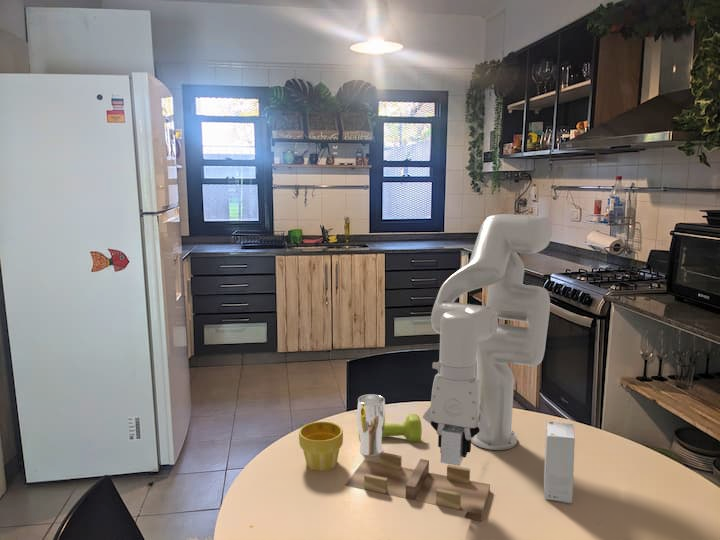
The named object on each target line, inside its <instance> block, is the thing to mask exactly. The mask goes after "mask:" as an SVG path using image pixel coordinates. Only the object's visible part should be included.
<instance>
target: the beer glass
mask: <svg viewBox="0 0 720 540" xmlns="http://www.w3.org/2000/svg"><path fill="white" fill-rule="evenodd" d="M356 419H357V427H358V428H357V429H358V435H359V434H360V439H359V442H360V445H359V453H360V454H361V455H363V456H366V457H376V456H380V453H381V452H383V450H384V449H383V445H382V444H383V437H384V436H383V431H384V426H385V424H386V399H385V397H383V396H381V395H379V394H374V393H372V394H369V393H368V394H363V395H360V396H359V397H358V398H357V412H356Z"/></svg>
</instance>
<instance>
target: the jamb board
mask: <svg viewBox="0 0 720 540" xmlns="http://www.w3.org/2000/svg"><path fill="white" fill-rule="evenodd" d="M402 461H403V460H402V455H400V454H399V455H398V454H394V453H393V454H392V453H388V452H383V451H382V452H381V453H380V455H379V462H378V461H377V462H376V461H374V460H373V461H372V460H366V459H363V461H362V462H361V463H360V464H359V466H358V467H357V469H356V470H355V471H354V472H353V474H352V475H351V476H350V478H349V479H348V480H347V481H346V482H345V484H344V486H347V487H351V488H354V489H360V490H364V491H369V492H374V493H379V494H384V495H388V496H392V497H398V498H401V499H406V500H410V501H415V502H420V503H425V504H430V505H434V506H439V507H444V508H449V509H452V510H458V511H463V512H465V514H464V519H469V520H472V521H473V520H474V521H478V522H482V520H483V516H484V512H485V509H486V506H487V503H488V500H489V498H488V497H489V495H490V492H491V491H490V490H491V484H490V483H484V482H479V481H474V480H471V476H470V475H471V468H468V467H464V466H463V467H462V466H457V465H451V464H447V465H446V475H443V474H437V473H434V472H429V471H430V470H429V469H430V461H429V460H428V459H423V458H420V459H419V460H418V463H417V464H416V466H415V468H414V469H412V468H408V467H402Z"/></svg>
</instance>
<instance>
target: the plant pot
mask: <svg viewBox="0 0 720 540" xmlns="http://www.w3.org/2000/svg"><path fill="white" fill-rule="evenodd" d="M343 441H344V431H343V428H342V427H341V426H340V424H337V423H334V422H331V421H324V420H323V421H314V422H309V423H306V424H304V425H303V426H302V427H301V428H300V429H299V430H298V442H299V447H300V448H301V450H302V451H303V455H304V459H305V463H306V466H307V467H308V468H309V469H311V470H314V471H328V470H331V469H333V468H335V466H337V462H338V458H339V453H340V448H342V447H343Z"/></svg>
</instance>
